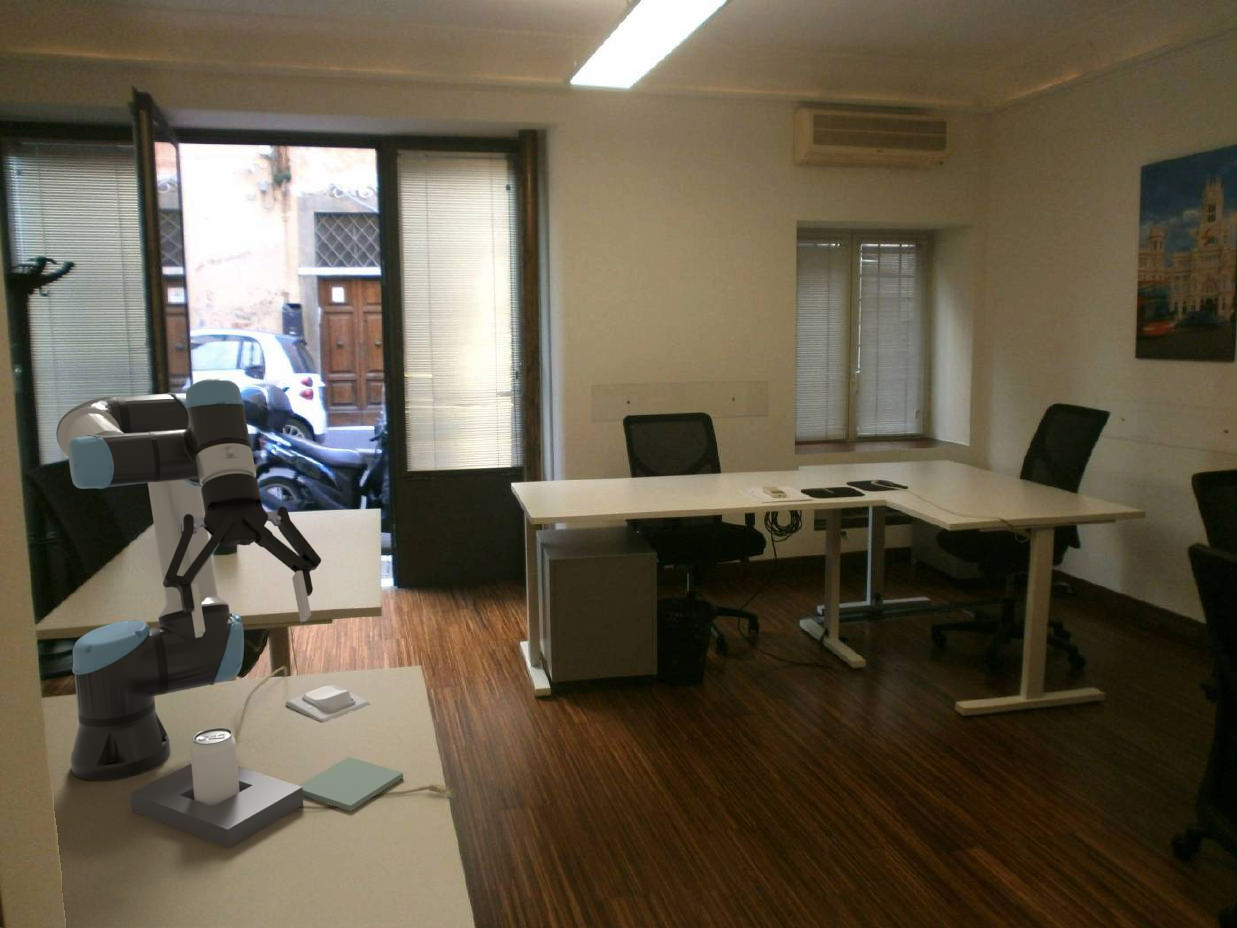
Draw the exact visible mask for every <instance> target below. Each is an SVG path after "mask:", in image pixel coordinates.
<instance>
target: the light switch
mask: <svg viewBox="0 0 1237 928" xmlns="http://www.w3.org/2000/svg"><path fill="white" fill-rule="evenodd" d="M367 705H368V706H370V705H371V703H370V702H369V701H368V700H367V699H364V698H363V697H360V696H358V695H356V694H354V693H352V692H350V691H349V690H348V689H345V688H343V687H341V686H338V685H337V684H335V683H334V684H330V685H324V686H321V687H319V688H316V689H313V690H311V691H308V692H305V693H303V694H302V695H300V696H295V697H293V698H291V699H289V700H286V701H285V706H287V707H289V708H290V709H292V710H294V711H295V712H298V711H299V712H298V713H300V714H303V715H305V716H306V717H310V718H311V719H314V718H315V719H314V720H316V719H317V720H316V721H318V720H319V721H318V722H320V721H321V722H320V723H323V722H324V723H326V722H325V721H327V722H329V721H331V720H330V719H332V718H334V719H337V718H339V717H342V716H344V714H345V715H347V714H349V713H348V712H350V711H353V712H355V711H358V710H359V709H363V708H365V706H366V707H368V706H367ZM350 713H351V712H350ZM328 720H329V721H328ZM332 720H333V719H332Z"/></svg>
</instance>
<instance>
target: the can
mask: <svg viewBox="0 0 1237 928" xmlns="http://www.w3.org/2000/svg"><path fill="white" fill-rule="evenodd" d="M192 741H193V742H192V744H191V747H190V760H191V761H190V764H192V776H193V788H194V800H195V801H198V802H201V803H203V804H206V805H209V806H212V807H213V806H215V805H217V804H219V803H221V802H223V801H224V800H226V799H228V798H230V797H232V796H234V795H236V794H238V793H239V779H238V766H239V765H238V755H237V754H238V753H237V743H236V740H235V738H234V735H233V732H232V730H231V729H229V728H225V727H213V728H208V729H204V730H201V731H199V732H197V733H196V734H195V735H194V736H193V737H192Z"/></svg>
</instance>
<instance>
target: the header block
mask: <svg viewBox="0 0 1237 928" xmlns="http://www.w3.org/2000/svg"><path fill="white" fill-rule="evenodd" d="M238 779H239V793H238V794H236V795H234V796H232V797H230V798H228V799H226V800H224V801H223V802H221V803H219V804H217V805H215V806H213V807H212V806H209V805H206V804H203V803H201V802H198V801H195V800H194V788H193V776H192V764H191V763H190V764H187V765H186V766H185V765H184V766H183V767H181V768H180V769H177V770H175V771H173V772H171V773H169V774H167V775H165V776H163V777H161V778H158V779H157V780H154V781H152V782H150V783H148V784H146V785H144V786H142V787H140V788H138V789H137V788H136V790H133V791H131V792H129V796H130V797H129V798H130V807H131V812H133V811H135V812H137V813H136V814H138V813H139V815H141V814H142V815H141V816H144V817H147V818H148V819H151V820H154V821H156V822H159V823H162V824H164V825H168V826H170V827H172V828H173V829H177V830H179V831H183V832H184V833H187V834H190V835H193V836H195V837H198V838H200V839H203V840H206V841H208V842H210V843H213V844H216V845H219V846H221V847H223V848H227V849H231V848H233V847H235V846H236V845H238V844H240V843H241V842H243V841H245V840H246V839H249V838H250V837H251V836H253V835H255V834H256V833H259V832H260V831H262V830H264V829H265V828H267V827H268V826H270V825H272V824H274V823H276V822H277V821H278V820H280V819H282V818H283V817H286V816H287V815H289V814H291V813H292V812H294V811H295V810H297V809H298V808H300V806H301V807H302V806H304V796H303V790H302V787H301V786H298V785H299V784H298V785H297V784H294V783H291V782H289V781H286V780H285V781H284V780H282V779H279V778H275V777H273V776H270V775H266V774H263V773H260V772H258V771H254V770H251V769H249V768H245V767H242V766H239V765H238ZM135 812H134V813H135Z"/></svg>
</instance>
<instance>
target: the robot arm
mask: <svg viewBox="0 0 1237 928" xmlns="http://www.w3.org/2000/svg"><path fill="white" fill-rule="evenodd" d="M245 411H246V410H245V402H244V400H243V397H242V394H241V390H240V387H239V386H238V385H237V383H236V382H233V381H231V380H228V379H226V378H207V379H203V380H199V381H197V382H195V383H193V384H192V385H190V386H189V387H188V388H187V390H186V392H185V393H173V392H167V393H158V394H139V395H138V394H136V395H122V396H121V395H119V396H114V395H113V396H104V397H98V398H96V399H92V400H88V401H86V402H83V403H81V404H79V405H78V404H77V406H75V407H73V408H71V409H70V410H68V411H67V412H66V413H65V414H64V415H63V416H62V417H61V419H60V420H59V422H58V424H57V427H56V440H57V444H58V446H59V448H60V449H61V451H62V452H63V453H64V454H65V455H66V456H68V463H69V464H68V465H69V470H70V476H71V480H72V484H73V485H74V486H75V487H76V488H78V489H83V490H84V489H99V490H103V489H106V488H109V487H110V488H111V487H118V486H119V487H120V486H121V487H122V486H128V485H130V486H131V485H138V484H146V483H147V486H148V493H149V499H150V506H151V513H152V519H153V527H154V531H155V532H154V533H155V539H156V546H157V552H158V553H157V554H158V559H159V565H160V573H161V580H162V586H163V593H164V600H165V607H164V608H163V610H162V611H161V613H160V614H159V615H158V625H159V626H156V627H150V626H149V625H148V623H147V622H146V621H145V620H139V619H134V620H131V621H130V620H123V621H117V622H113V623H109V624H107V625H103V626H100V627H98V628H95V629H93V630H91V631H89V632H87V633H85V634H83V636H81V637H80V638H78V639H77V640H76V642H75V644H74V645H73V647H72V661H73V662H72V668H71V669H72V670H71V671H72V673H73V674H74V682H75V693H76V702H77V703H76V704H77V713H78V728H77V731H76V736H75V740H74V743H73V748H72V752H71V756H70V767H71V768H70V769H71V772H72V774H73V775H74V776H75V777H77V778H79V779H82V780H85V781H98V780H99V781H113V780H118V779H125V778H127V777H128V778H129V777H132V776H135V775H139V774H141V773H144V772H147V771H149V770H152V769H153V768H155V767H157V766H159V765H160V764H162V763H164V762H165V760H167V759H168V757H169V756H170V753H171V743H170V737H169V734H167V731H166V729H165V726H164V725H163V723H162V721H161V718H160V717H159V715H158V712H157V710H156V702H155V698H156V697H157V696H161V695H167V694H171V693H175V692H176V693H177V692H182V691H186V690H190V689H195V688H201V687H205V686H214V685H215V684H218V683H222V682H226V681H230V680H232V679H234V678H236V677H237V676H238V674H239V673H240V671H241V669H242V666H243V660H244V649H245V648H244V647H245V644H244V643H245V638H244V636H245V635H244V626H243V623H242V618H241V615H240V614H239V613H235V612H230V607H229V606H230V605H229V603H228V602H227V601H225V600H224V599H222V598H221V597H219V595H218V589H217V583H216V576H215V570H214V565H213V564H214V563H213V557H212V555H213V554H214V553H215V551H217V549H218V547H219V546H220V545H222V546H225V547H226V548H232V547H233V548H234V547H235V546H251V544H253V543H255V544H257V545H258V546H259V547H260V548H263V549H265V550H266V551H268V553H270V554H271V555H272V556H274V558H276V559H277V560H278V561H280V562H281V563H282V564H284V565H285V566H286V567H288V568H289V569H290V570H291V571H293V572H294V575H292V578H291V579H292V585H293V589H294V590H293V591H294V593H295V599H296V605H297V609H298V610H297V611H298V615H299V620H300V623H304V622H307V621H308V619H310V618H311V616H312V613H311V607H310V601H309V597H310V596H311V595H312V593H313V591H314V588H313V583H312V578H311V571H315V570H317V568H318V567H319V566H320V564H321V562H322V558H321V557H320V555H319V554H318V553H317V552H316V550H315V549H314V547H312V546H311V544H310V543H309V542H308V540H307V539H306V538H305V536H304V535H303V534H302V533H301V531H300V530H299V529H298V528H297V526H296V525H295V524H294V523H293V521H292V520H291V517H290V515H289V512H288V509H287V507H285V506H279V508H278V509H277V510H270V511H267V510H265V508H264V506H263V501H262V497H261V492H260V485H259V481H258V479H257V469H256V465H255V462H254V455H253V450H252V447H251V446H252V445H251V444H252V443H251V439H250V434H249V428H248V422H247V417H246V412H245ZM267 522H270V523H272V525H273V526H274V527H277V528H278V530H279V532H280V533H281V535H282V536H283V538H284V539H285V540H286V541H287V542H288V543H289V545H290V546H291V548H292V549H293V550H292V549H291V548H290V547H289V546H287V545H286V544H285V543H284V542H282V541H281V540H280V539H279V538H278V537H277V536H275V535H274V534H273V532H272V531H271V530H270V529H269V528H267V527H266V523H267ZM209 534H210V535H211V537H210V538H209ZM112 779H113V780H112Z"/></svg>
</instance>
